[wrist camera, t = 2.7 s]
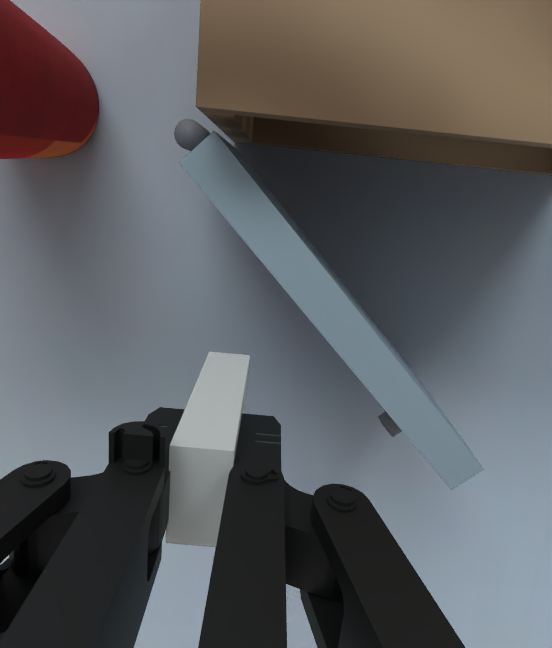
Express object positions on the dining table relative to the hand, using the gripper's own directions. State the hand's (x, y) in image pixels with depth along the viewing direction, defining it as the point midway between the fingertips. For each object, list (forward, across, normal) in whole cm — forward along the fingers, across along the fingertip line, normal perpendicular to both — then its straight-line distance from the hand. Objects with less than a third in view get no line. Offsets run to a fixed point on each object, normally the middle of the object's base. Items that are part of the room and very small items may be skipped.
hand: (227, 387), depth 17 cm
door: (+10, +4, +2) cm, 11 cm away
